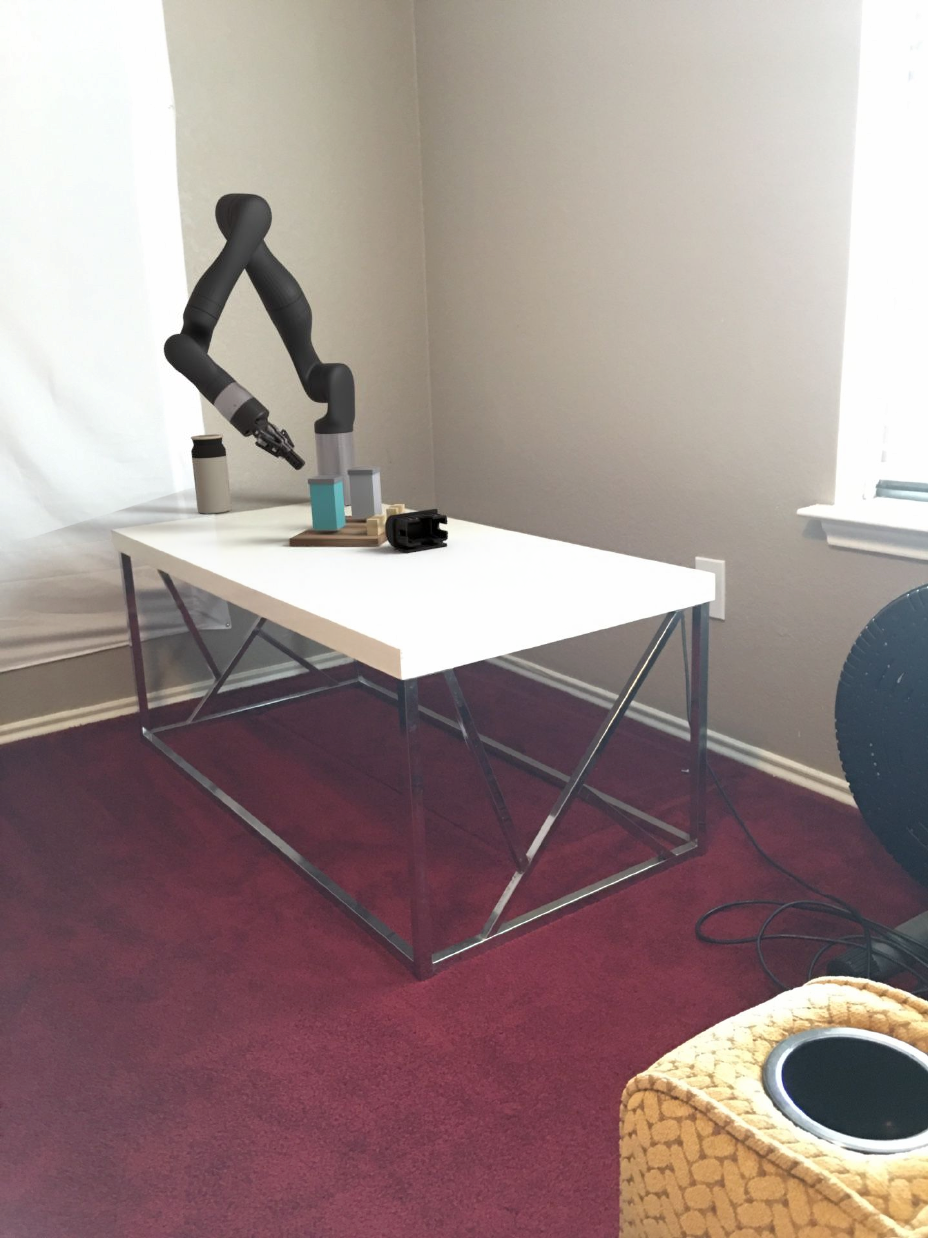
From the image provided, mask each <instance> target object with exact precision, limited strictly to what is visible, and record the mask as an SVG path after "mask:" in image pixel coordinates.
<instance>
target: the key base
mask: <svg viewBox="0 0 928 1238" xmlns="http://www.w3.org/2000/svg"><path fill="white" fill-rule="evenodd" d="M405 507H406V506H405V503H397V504H396V503H394V504H392V505H390V506H389V507H387V508H385V514H381V515H374V516H373V517H371V518H352V515H345V524H346V525H345V526H343V527H341V528H340V529H338V530H313V526H312V527H309V528H308V529H306V530H303V531H301V532H300V533H298V534H296V535H294V536H292V537H290V538H289V539H288V541H289V547H376V548H377V547H380V546H381V545H383V544H384V543H385V542H388V540H387V537H386V533H385V523H386V520H387V518H388V517H389V516H390V515H395V514H402V513H406V511H405V510H406V508H405Z"/></svg>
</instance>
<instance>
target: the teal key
mask: <svg viewBox="0 0 928 1238" xmlns="http://www.w3.org/2000/svg"><path fill="white" fill-rule="evenodd" d="M343 480H344V479H343V475H318V474H317V475H315V476H312V477H309V478H308V479H307V484H308V485H309V495H310V508H311V518H312V519H311V521H312V527H313V530H338V529H340V528H341V527H343V526H345V525H346V524H345V516H346V515H345V514H346V513H345V512H346V511H345V506H344V497H343V483H342V481H343Z"/></svg>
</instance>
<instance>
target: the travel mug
mask: <svg viewBox="0 0 928 1238" xmlns="http://www.w3.org/2000/svg"><path fill="white" fill-rule="evenodd" d="M223 438H224V435H223V434H220V433H219V434H217V433H213V434H202V435H201V434H200V435H192V436H190V439H191V441H192V444H193V445H192V449H191V450H190V453H191V461H192V462H191V463H192V469H193V470H192V471H193V480H194V489H195V498H196V507H197V512H198V513H200V514H203V515H216V514H217V515H218V514H224V513H225V514H226V513H228V512H230V511H231V510H232V507H233V506H232V497H231V489H230V479H229V470H228V469H229V468H228V457H227V449H226V447H225V446H224V444H223Z"/></svg>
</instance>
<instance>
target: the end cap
mask: <svg viewBox="0 0 928 1238" xmlns="http://www.w3.org/2000/svg"><path fill="white" fill-rule="evenodd" d="M440 524H442V525H448V516H447V515H446V514H441V513H438V508H431V509H424V510H418V511H417V510H416V511H410V512H405V513H402V514H395V515H390V516H389V517H388V518H387V520H386V523H385V533H386V537H387V542H388V544H389V545H390V546H391V547H393V549H394V550H395V551H397V552H400V553H405V554H412V553H418V552H423V551H430V550H436V549H441V548H447V547H448V543H447V542H445V541H447V540H448V539H449V531H448V530H445V529H442V528H440Z"/></svg>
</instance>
